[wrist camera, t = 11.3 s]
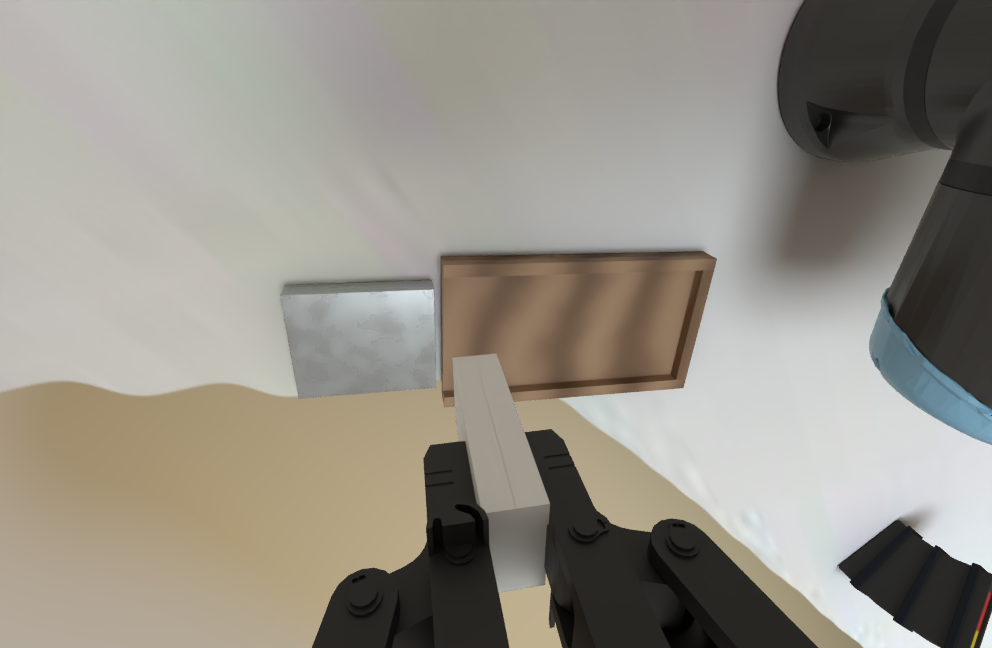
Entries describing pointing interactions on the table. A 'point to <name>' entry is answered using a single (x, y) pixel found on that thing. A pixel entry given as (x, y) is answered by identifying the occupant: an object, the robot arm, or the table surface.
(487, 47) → the table surface
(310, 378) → the cover plate
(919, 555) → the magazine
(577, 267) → the brown wooden tray
